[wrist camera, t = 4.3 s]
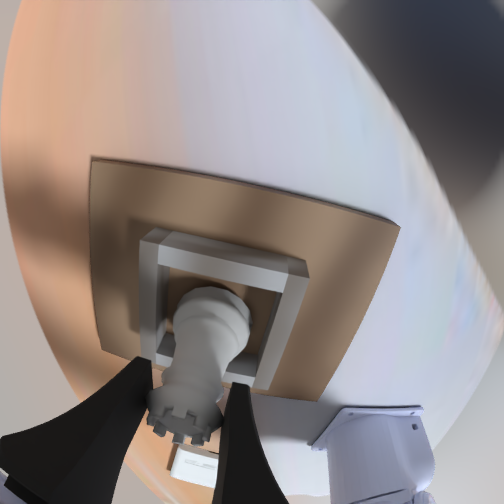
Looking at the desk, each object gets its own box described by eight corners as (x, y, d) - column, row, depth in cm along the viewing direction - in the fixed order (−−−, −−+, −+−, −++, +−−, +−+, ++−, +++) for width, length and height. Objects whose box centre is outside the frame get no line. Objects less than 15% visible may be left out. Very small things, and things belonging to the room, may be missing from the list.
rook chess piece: (165, 294, 16) (101, 397, 8) (234, 271, 15) (199, 391, 7) (199, 349, 17) (164, 455, 10) (264, 334, 16) (254, 454, 9)
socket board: (393, 221, 14) (417, 240, 11) (315, 392, 19) (318, 422, 17) (101, 159, 14) (70, 166, 11) (107, 341, 19) (90, 366, 16)
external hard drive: (171, 467, 30) (180, 438, 25) (224, 481, 31) (249, 455, 26) (169, 476, 29) (177, 449, 24) (223, 490, 29) (248, 466, 24)
